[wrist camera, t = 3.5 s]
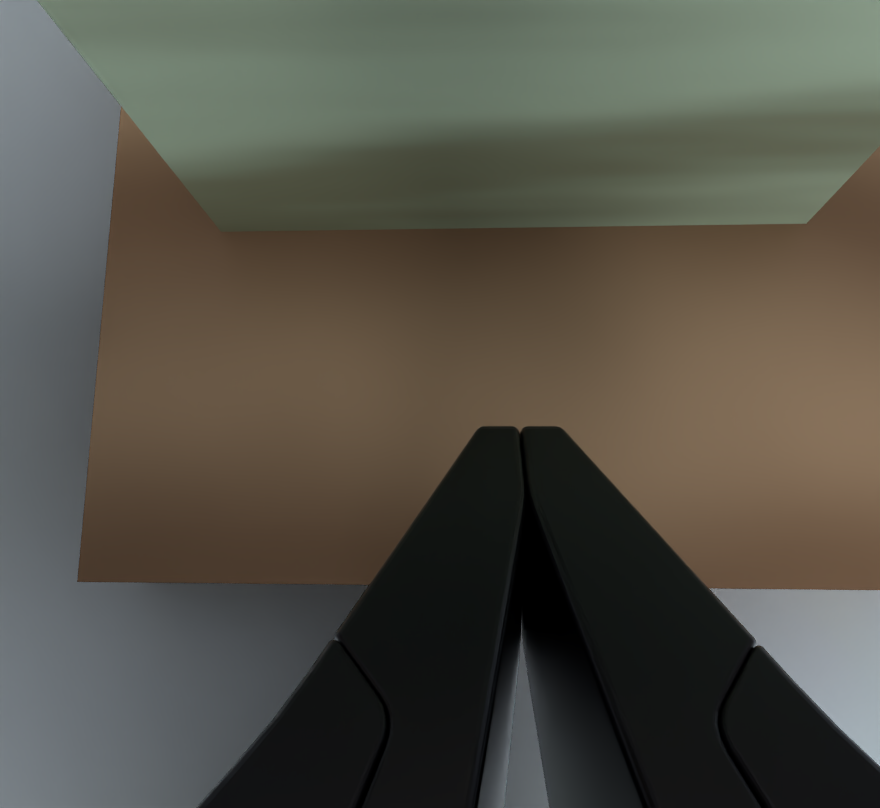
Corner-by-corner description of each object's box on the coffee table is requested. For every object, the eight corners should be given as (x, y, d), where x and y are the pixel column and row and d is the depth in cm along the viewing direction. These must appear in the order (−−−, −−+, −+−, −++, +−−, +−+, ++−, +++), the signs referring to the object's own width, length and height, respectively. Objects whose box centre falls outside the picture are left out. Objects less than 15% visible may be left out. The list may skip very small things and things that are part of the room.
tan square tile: (891, 586, 15) (970, 591, 12) (141, 578, 16) (77, 581, 13) (835, 3, 17) (893, -90, 15) (184, 21, 18) (136, -64, 16)
